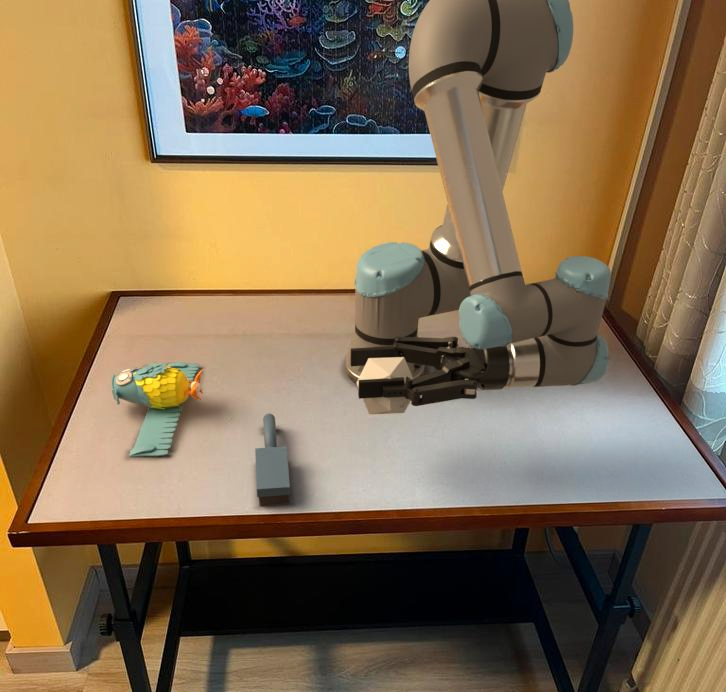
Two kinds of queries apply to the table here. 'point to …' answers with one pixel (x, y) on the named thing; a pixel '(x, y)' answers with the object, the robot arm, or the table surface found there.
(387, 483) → the table surface
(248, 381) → the table surface
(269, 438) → the brush
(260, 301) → the table surface
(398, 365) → the die
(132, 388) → the owl figurine
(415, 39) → the robot arm
